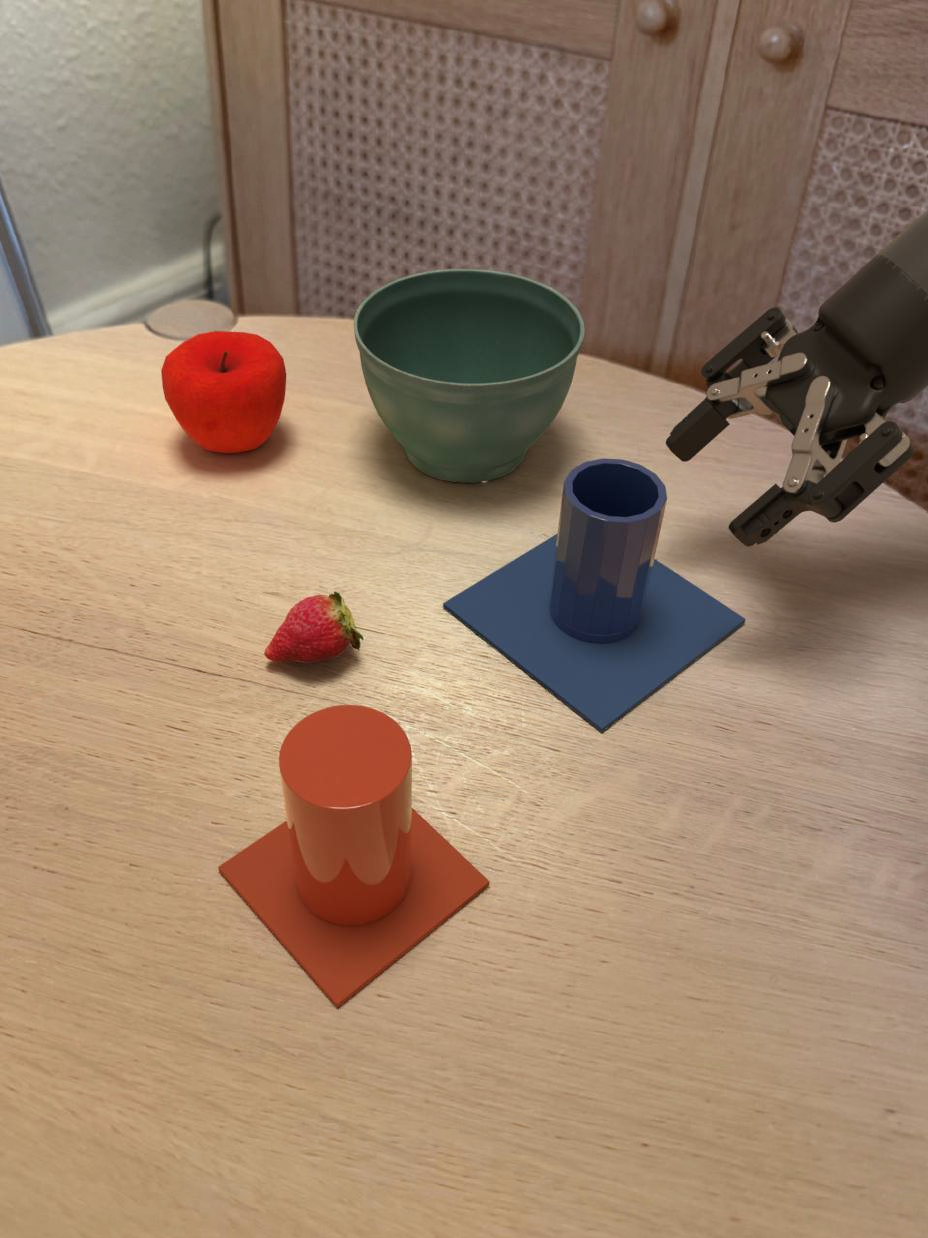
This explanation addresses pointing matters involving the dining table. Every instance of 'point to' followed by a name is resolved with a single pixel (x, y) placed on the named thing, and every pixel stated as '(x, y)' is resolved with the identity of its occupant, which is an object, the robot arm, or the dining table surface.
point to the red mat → (362, 950)
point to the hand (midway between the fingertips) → (704, 493)
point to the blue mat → (584, 671)
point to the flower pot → (467, 366)
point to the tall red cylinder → (349, 812)
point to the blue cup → (605, 548)
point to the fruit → (315, 631)
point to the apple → (225, 389)
